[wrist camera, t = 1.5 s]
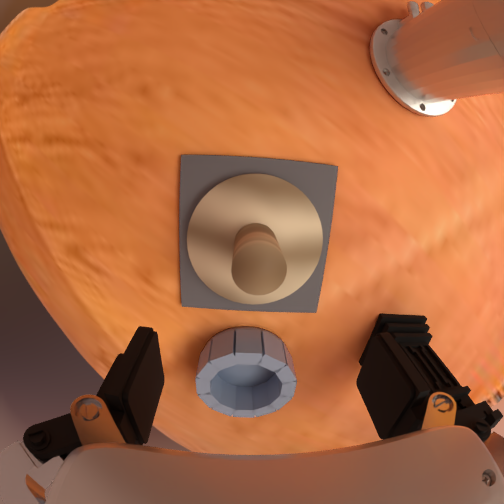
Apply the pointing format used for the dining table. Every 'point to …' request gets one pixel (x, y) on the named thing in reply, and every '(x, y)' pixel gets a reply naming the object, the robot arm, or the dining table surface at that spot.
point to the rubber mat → (225, 167)
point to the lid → (254, 239)
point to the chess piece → (429, 362)
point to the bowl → (245, 372)
